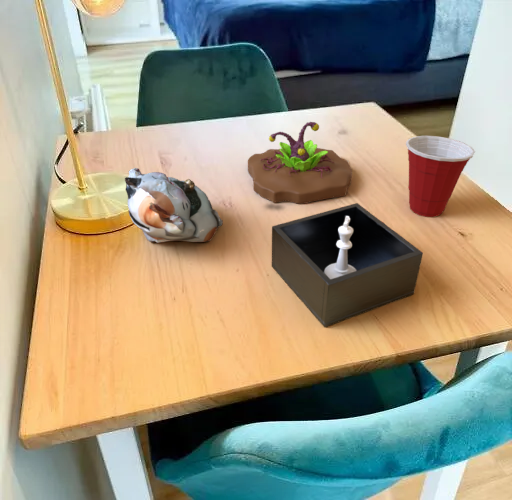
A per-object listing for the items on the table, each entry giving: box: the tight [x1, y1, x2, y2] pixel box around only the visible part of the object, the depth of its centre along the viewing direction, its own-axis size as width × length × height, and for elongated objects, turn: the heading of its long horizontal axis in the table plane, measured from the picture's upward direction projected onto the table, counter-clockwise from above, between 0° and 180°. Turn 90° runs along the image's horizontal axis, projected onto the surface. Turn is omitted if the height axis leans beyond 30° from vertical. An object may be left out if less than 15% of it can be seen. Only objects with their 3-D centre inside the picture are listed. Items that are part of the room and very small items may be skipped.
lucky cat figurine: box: [124, 167, 223, 244], centre depth 79 cm, size 15×12×14 cm
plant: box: [247, 121, 353, 205], centre depth 95 cm, size 20×20×11 cm
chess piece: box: [324, 216, 357, 279], centre depth 69 cm, size 5×5×10 cm
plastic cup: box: [405, 135, 476, 218], centre depth 86 cm, size 11×11×12 cm
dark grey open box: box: [271, 202, 424, 328], centre depth 71 cm, size 15×15×7 cm
